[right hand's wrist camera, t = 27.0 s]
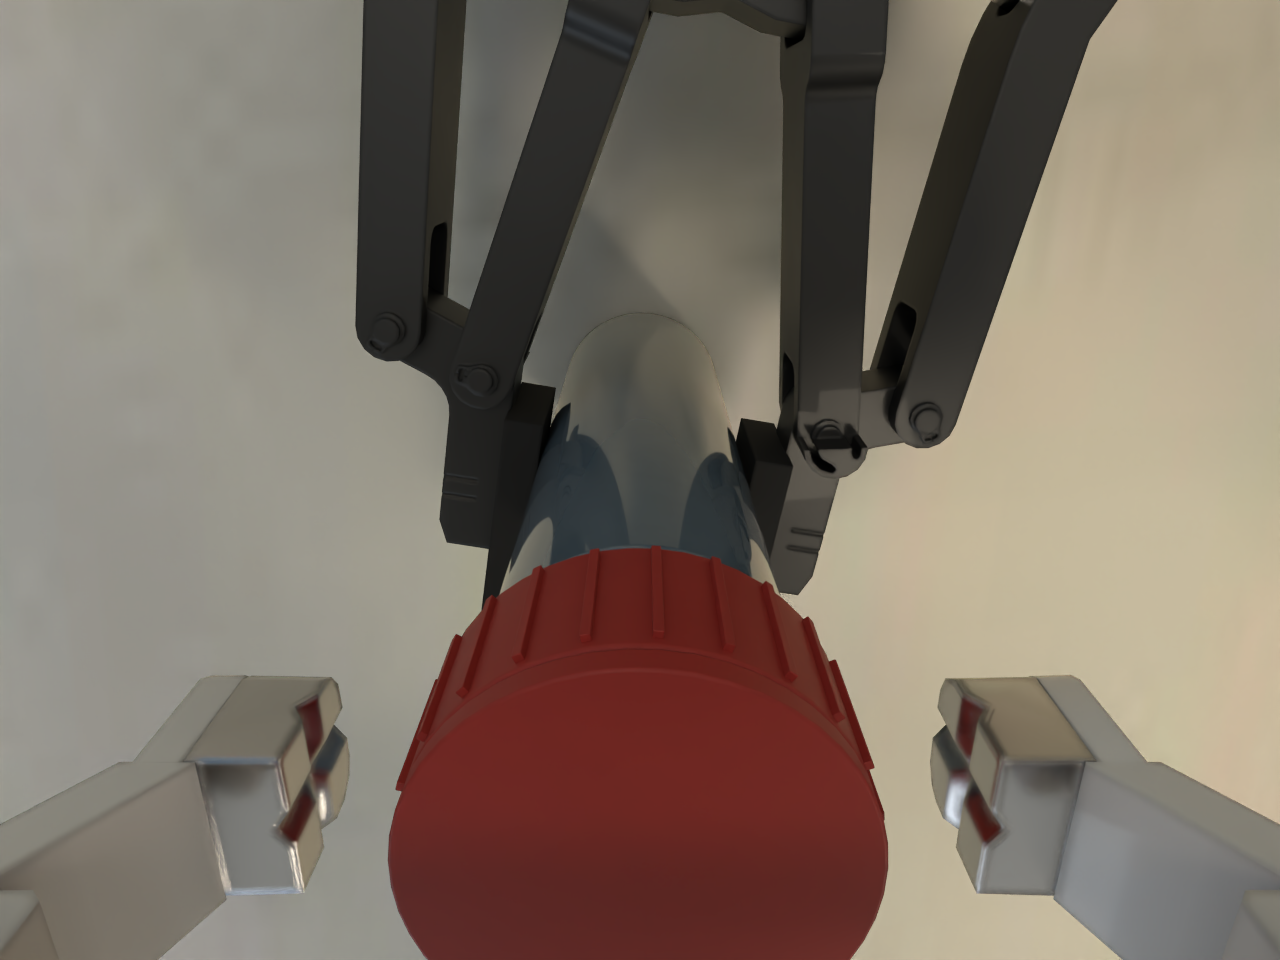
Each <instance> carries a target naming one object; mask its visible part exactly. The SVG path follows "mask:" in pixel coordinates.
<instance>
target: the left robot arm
mask: <svg viewBox="0 0 1280 960" xmlns="http://www.w3.org/2000/svg"><path fill="white" fill-rule="evenodd" d="M888 1H889V0H569V2H568V5H567V9H566V13H565V18H564V24H563V28H562V32H561V36H560V39H559V42H558V45H557V48H556V51H555V54H554V57H553V60H552V63H551V66H550V69H549V72H548V75H547V78H546V81H545V84H544V87H543V90H542V93H541V96H540V99H539V102H538V105H537V108H536V111H535V114H534V117H533V120H532V123H531V126H530V129H529V133H528V136H527V139H526V142H525V145H524V148H523V151H522V154H521V157H520V160H519V163H518V166H517V169H516V172H515V175H514V178H513V181H512V184H511V187H510V190H509V193H508V196H507V199H506V202H505V205H504V208H503V211H502V214H501V217H500V220H499V223H498V226H497V229H496V232H495V235H494V238H493V241H492V244H491V247H490V250H489V253H488V256H487V259H486V262H485V265H484V268H483V271H482V274H481V277H480V280H479V283H478V286H477V289H476V292H475V295H474V298H473V301H472V304H471V307H470V310H469V309H467V308H466V307H464V306H462V305H460V304H458V303H456V302H455V301H453V300H451V299H449V298H448V283H449V267H450V251H451V236H452V220H453V204H454V189H455V173H456V157H457V142H458V126H459V110H460V94H461V79H462V63H463V47H464V32H465V16H466V0H364V8H363V48H362V87H361V127H360V167H359V206H358V246H357V285H356V325H355V326H356V331H357V337H358V339H359V341H360V343H361V344H362V346H363V348H364V349H365V350H366V351H367V352H369V353H370V354H371V355H372V356H374V357H375V358H378V359H381V360H384V361H399V360H400V361H402V362H404V363H405V364H407V365H409V366H411V367H413V368H415V369H417V370H419V371H421V372H422V373H424V374H426V375H428V376H429V377H431V378H432V379H433V380H435V381H436V382H437V383H438V384H439V386H440V387H441V388H442V390H443V391H444V393H445V395H446V397H447V400H448V404H449V425H448V435H447V446H446V456H445V467H444V478H443V488H442V498H441V509H440V519H439V520H440V523H441V526H442V529H443V532H444V535H445V538H446V541H447V543H454V544H460V545H467V546H473V547H480V548H487V549H489V553H488V561H487V569H486V578H485V586H484V594H483V603H482V610H483V607H484V604H485V601H486V599H487V598H489V597H490V596H491V595H493V596H494V597H495V598H496V597H498V596H499V594H500V590H501V587H502V584H503V581H504V577H505V574H506V571H507V568H508V564H509V561H510V558H511V554H512V551H513V548H514V545H515V541H516V538H517V535H518V532H519V528H520V525H521V522H522V518H523V515H524V512H525V509H526V505H527V502H528V499H529V496H530V492H531V489H532V486H533V482H534V479H535V476H536V473H537V469H538V466H539V463H540V460H541V456H542V453H543V450H544V446H545V443H546V440H547V437H548V433H549V430H550V425H551V418H552V411H553V404H554V397H555V390H556V388H555V387H549V386H543V385H537V384H531V383H525V382H522V383H521V380H522V372H523V365H524V363H525V361H526V359H527V357H528V355H529V353H530V352H529V350H530V347H531V344H532V342H533V339H534V336H535V333H536V331H537V328H538V325H539V322H540V320H541V317H542V314H543V311H544V309H545V306H546V303H547V300H548V298H549V295H550V292H551V289H552V287H553V284H554V281H555V278H556V276H557V273H558V270H559V267H560V265H561V262H562V259H563V256H564V254H565V251H566V248H567V245H568V243H569V240H570V237H571V234H572V232H573V229H574V226H575V223H576V221H577V218H578V215H579V212H580V210H581V207H582V204H583V201H584V199H585V196H586V193H587V190H588V188H589V185H590V182H591V179H592V177H593V174H594V171H595V168H596V166H597V163H598V160H599V157H600V155H601V152H602V149H603V146H604V143H605V141H606V138H607V135H608V132H609V130H610V127H611V124H612V121H613V119H614V116H615V113H616V110H617V108H618V105H619V102H620V99H621V97H622V94H623V91H624V88H625V86H626V83H627V80H628V77H629V75H630V72H631V70H632V67H633V65H634V62H635V60H636V57H637V55H638V52H639V49H640V47H641V44H642V41H643V39H644V36H645V33H646V30H647V28H648V25H649V22H650V19H651V17H652V14H653V12H657V13H663V14H668V15H673V16H687V15H697V14H707V13H716V12H721V13H724V14H727V15H728V16H730V17H732V18H734V19H736V20H738V21H740V22H742V23H744V24H746V25H747V26H749V27H751V28H753V29H755V30H757V31H759V32H761V33H766V34H771V35H776V36H781V37H780V81H781V89H782V94H783V167H782V236H781V305H780V374H779V404H780V409H781V414H780V418H779V422H778V426H777V429H776V427H775V425H774V424H773V423H767V422H761V421H755V420H749V419H743V418H741V422H740V426H739V430H738V435H737V439H736V444H737V448H738V451H739V455H740V458H741V462H742V465H743V468H744V472H745V475H746V479H747V482H748V486H749V489H750V493H751V496H752V499H753V503H754V506H755V510H756V513H757V517H758V520H759V523H760V527H761V530H762V534H763V537H764V541H765V544H766V548H767V551H768V554H769V558H770V561H771V565H772V568H773V572H774V575H775V579H776V582H777V585H778V589H779V592H781V593H787V594H794V595H798V594H799V593H800V592H801V590H802V589H803V588H804V587H805V585H806V584H807V583H808V581H809V580H810V579H811V577H812V576H813V572H814V569H815V565H816V561H817V558H818V552H819V550H820V547H821V543H822V540H823V534H824V532H825V529H826V525H827V521H828V518H829V514H830V511H831V507H832V503H833V500H834V496H835V492H836V489H837V485H838V481H839V478H842V477H846V476H848V475H850V474H851V473H853V472H854V471H856V470H858V468H859V467H860V466H861V464H862V463H863V462H864V460H865V458H866V454H867V450H868V449H871V448H874V447H880V446H886V445H892V444H898V443H904V442H905V443H906V444H908V445H910V446H913V447H915V448H930V447H932V446H935V445H938V444H940V443H941V442H942V441H944V440H945V439H946V438H947V437H948V436H949V435H950V434H951V432H952V430H953V429H954V427H955V425H956V422H957V419H958V416H959V413H960V411H961V408H962V405H963V402H964V399H965V396H966V393H967V390H968V388H969V385H970V382H971V379H972V376H973V373H974V370H975V367H976V365H977V362H978V359H979V356H980V353H981V350H982V347H983V345H984V342H985V339H986V336H987V333H988V330H989V327H990V324H991V322H992V319H993V316H994V313H995V310H996V307H997V304H998V301H999V299H1000V296H1001V293H1002V290H1003V287H1004V284H1005V281H1006V278H1007V276H1008V273H1009V270H1010V267H1011V264H1012V261H1013V258H1014V255H1015V253H1016V250H1017V247H1018V244H1019V241H1020V238H1021V235H1022V232H1023V230H1024V227H1025V224H1026V221H1027V218H1028V215H1029V212H1030V209H1031V207H1032V204H1033V201H1034V198H1035V195H1036V192H1037V189H1038V186H1039V184H1040V181H1041V178H1042V175H1043V172H1044V169H1045V166H1046V163H1047V161H1048V158H1049V155H1050V152H1051V149H1052V146H1053V143H1054V140H1055V138H1056V135H1057V132H1058V129H1059V126H1060V123H1061V120H1062V117H1063V115H1064V112H1065V109H1066V106H1067V103H1068V100H1069V97H1070V94H1071V92H1072V89H1073V86H1074V83H1075V80H1076V77H1077V74H1078V71H1079V69H1080V66H1081V63H1082V60H1083V57H1084V54H1085V51H1086V48H1087V46H1088V43H1089V40H1090V38H1091V37H1092V35H1093V34H1094V33H1095V31H1096V30H1097V28H1098V27H1099V26H1100V24H1101V23H1102V21H1103V20H1104V19H1105V17H1106V16H1107V14H1108V13H1109V12H1110V10H1111V9H1112V7H1113V6H1114V5H1115V3H1116V2H1117V0H991V2H990V3H989V5H988V7H987V8H986V10H985V12H984V13H983V15H982V17H981V20H980V22H979V24H978V26H977V28H976V30H975V32H974V34H973V37H972V39H971V41H970V44H969V47H968V49H967V52H966V55H965V58H964V61H963V63H962V66H961V69H960V73H959V76H958V79H957V83H956V86H955V89H954V93H953V96H952V99H951V103H950V106H949V109H948V112H947V116H946V119H945V122H944V126H943V129H942V132H941V136H940V139H939V142H938V146H937V149H936V152H935V155H934V159H933V162H932V165H931V169H930V172H929V175H928V179H927V182H926V185H925V189H924V192H923V195H922V198H921V202H920V205H919V208H918V212H917V215H916V218H915V222H914V225H913V228H912V232H911V235H910V238H909V241H908V245H907V248H906V251H905V255H904V258H903V261H902V265H901V268H900V271H899V275H898V278H897V281H896V284H895V288H894V291H893V294H892V298H891V301H890V304H889V308H888V311H887V314H886V318H885V321H884V324H883V327H882V331H881V334H880V337H879V341H878V344H877V347H876V351H875V354H874V357H873V361H872V364H871V367H870V370H867V371H862V362H863V342H864V322H865V302H866V283H867V263H868V243H869V223H870V203H871V183H872V163H873V144H874V124H875V104H876V93H877V88H878V85H879V82H880V79H881V76H882V73H883V68H884V63H885V54H886V39H887V20H888Z"/></svg>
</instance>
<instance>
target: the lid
mask: <svg viewBox="0 0 1280 960" xmlns="http://www.w3.org/2000/svg"><path fill="white" fill-rule="evenodd" d="M873 768H874V764H873V761H872V759H871V756H870V753H869V750H868V747H867V745H866V742H865V739H864V736H863V734H862V731H861V728H860V725H859V722H858V720H857V717H856V714H855V711H854V709H853V706H852V703H851V700H850V697H849V695H848V692H847V689H846V686H845V683H844V681H843V678H842V675H841V672H840V670H839V667H838V664H837V662H836V660H832V661H828V658H827V655H826V653H825V652H824V650H823V648H822V646H821V644H820V642H819V639H818V636H817V633H816V630H815V627H814V624H813V622H812V620H811V619H810V618H809V617H806V618H804V619H803V618H802V617H801V616H800V615H799V614H798V613H797V612H796V611H795V610H794V609H793V608H792V607H791V606H790V605H789V604H788V603H787V602H786V601H785V600H784V599H783V598H781V597H780V596H779V595H777V594H776V593H775V591H774V588H773V585H772V584H770V583H769V582H767V581H765V582H764V583H763V584H762V583H761V582H759V581H757V580H755V579H753V578H752V577H750V576H748V575H746V574H744V573H742V572H741V571H739V570H737V569H734V568H732V567H729V566H727V565H724V564H722V563H721V559H720V558H717V557H713V556H712V557H711V559H708V558H704V557H700V556H696V555H692V554H689V553H685V552H678V551H670V550H663V549H661V546H654V545H652V546H651V549H648V548H625V549H615V550H606V551H600V550H599V548H597V549H591V550H590V553H589V554H585V555H581V556H576V557H572V558H570V559H567V560H564V561H561V562H558V563H555V564H553V565H550V566H547V567H545V568H542V566H541V565H540V566H538V567H536V568H533V571H532V574H531V575H529V576H527V577H525V578H523V579H522V580H520V581H519V582H517V583H516V584H514V585H513V586H511V587H510V588H508V589H507V590H505V591H504V592H502V593H501V594H500V595H499V596H498V597H496V598H495V597H494V596H493V595H491V596H490V597H489V598H487V599H486V601H485V604H484V607H483V610H482V611H481V612H480V614H479V615H478V616H477V617H476V618H475V620H474V621H473V622H472V623H471V624H470V626H469V627H468V628H467V629H466V631H465V632H464V634H463V636H462V637H461V636H459V635H457V634H456V635H455V636H454V638H453V640H452V642H451V645H450V647H449V650H448V653H447V655H446V658H445V661H444V663H443V666H442V669H441V672H440V674H439V677H438V679H436V680H435V682H434V685H433V687H432V690H431V693H430V695H429V698H428V701H427V704H426V706H425V709H424V712H423V714H422V717H421V720H420V722H419V725H418V728H417V730H416V733H415V736H414V738H413V741H412V744H411V746H410V749H409V752H408V754H407V757H406V760H405V762H404V765H403V768H402V770H401V773H400V776H399V778H398V781H397V785H396V790H398V791H402V792H401V795H400V798H399V800H398V803H397V806H396V809H395V812H394V817H393V821H392V825H391V830H390V834H389V849H388V865H389V874H390V882H391V888H392V891H393V895H394V898H395V901H396V905H397V908H398V911H399V914H400V916H401V918H402V920H403V922H404V924H405V926H406V928H407V930H408V932H409V934H410V936H411V937H412V939H413V940H414V942H415V943H416V945H417V946H418V948H419V949H420V951H421V952H422V953H423V955H424V956H425V957H426V958H427V959H428V960H850V959H851V958H852V956H853V955H854V954H855V952H856V951H857V949H858V948H859V947H860V945H861V944H862V943H863V941H864V940H865V938H866V936H867V934H868V932H869V930H870V928H871V926H872V924H873V923H874V921H875V919H876V916H877V913H878V910H879V907H880V904H881V901H882V898H883V895H884V890H885V884H886V878H887V872H888V841H887V835H886V830H885V825H884V811H883V808H882V805H881V802H880V799H879V796H878V793H877V791H876V788H875V785H874V782H873V779H872V776H871V773H870V771H869V770H870V769H873Z"/></svg>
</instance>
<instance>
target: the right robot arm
mask: <svg viewBox="0 0 1280 960" xmlns="http://www.w3.org/2000/svg"><path fill="white" fill-rule="evenodd" d="M341 709H342V702H341V697H340V692H339V687H338V684H337V683H336V682H335V680H334V679H333V678H332V677H291V676H250V677H249V676H246V675H231V676H208V677H205V678H202V679H200V680H199V681H198V682H197V683H196V685H195V686H194V687H193V688H192V689H191V691H190V692H189V693H188V694H187V696H186V697H185V698H184V699H183V701H182V702H181V703H180V704H179V705H178V707H177V708H176V709H175V710H174V712H173V713H172V714H171V715H170V717H169V718H168V719H167V720H166V722H165V723H164V724H163V725H162V726H161V728H160V729H159V730H158V731H157V733H156V734H155V735H154V736H153V738H152V739H151V740H150V741H149V743H148V744H147V745H146V746H145V747H144V749H143V750H142V751H141V752H140V754H139V755H138V756H137V757H136V759H135V760H134V761H133V762H119V763H117V764H115V765H113V766H111V767H109V768H107V769H105V770H103V771H101V772H99V773H98V774H96V775H94V776H92V777H90V778H88V779H86V780H84V781H82V782H80V783H78V784H76V785H75V786H73V787H71V788H69V789H67V790H65V791H63V792H61V793H59V794H57V795H55V796H54V797H52V798H50V799H48V800H46V801H44V802H42V803H40V804H38V805H36V806H34V807H32V808H31V809H29V810H27V811H25V812H23V813H21V814H19V815H17V816H15V817H13V818H11V819H9V820H8V821H6V822H4V823H2V824H0V960H158V959H159V958H160V957H161V956H162V955H164V954H165V953H166V952H167V951H168V950H169V949H170V948H172V947H173V946H174V945H175V944H176V943H177V942H178V941H180V940H181V939H182V938H183V937H184V936H185V935H187V934H188V933H189V932H190V931H191V930H192V929H193V928H195V927H196V926H197V925H198V924H199V923H200V922H201V921H203V920H204V919H205V918H206V917H207V916H208V915H209V914H211V913H212V912H213V911H214V910H215V909H216V908H217V907H219V906H220V905H221V904H222V903H223V902H224V901H225V900H226V895H260V894H294V893H304V891H305V889H306V886H307V884H308V882H309V880H310V877H311V875H312V873H313V871H314V869H315V866H316V864H317V862H318V860H319V857H320V855H321V853H322V851H323V848H324V844H323V838H322V831H321V829H323V828H324V827H325V826H327V825H328V824H329V823H331V822H332V821H334V820H335V819H336V818H337V817H338V814H339V812H340V809H341V807H342V804H343V802H344V800H345V795H346V790H347V785H348V779H349V748H348V741H347V737H346V736H345V735H344V734H343V733H342V732H341V731H340V730H339V729H338V728H337V727H336V726H335V725H334V723H335V721H336V719H337V717H338V715H339V713H340V711H341ZM938 709H939V711H940V713H941V715H942V717H943V719H944V721H945V723H946V725H945V726H944V727H943V728H942V729H941V730H940V731H939V732H938V733H937V734H936V735H935V736H934V737H933V741H932V750H931V759H930V766H931V780H932V787H933V791H934V795H935V799H936V802H937V805H938V807H939V809H940V812H941V814H942V817H943V818H944V819H945V820H946V821H948V822H949V823H951V824H952V825H953V826H955V827H956V828H957V829H959V831H958V838H957V844H956V848H957V851H958V853H959V855H960V857H961V860H962V862H963V864H964V866H965V868H966V871H967V873H968V875H969V877H970V880H971V882H972V884H973V886H974V888H975V891H976V893H983V894H1019V895H1054V898H1053V899H1054V900H1055V901H1056V902H1057V903H1058V904H1060V905H1061V906H1062V907H1063V908H1064V909H1065V910H1066V911H1068V912H1069V913H1070V914H1071V915H1072V916H1073V917H1074V918H1076V919H1077V920H1078V921H1079V922H1080V923H1081V924H1082V925H1084V926H1085V927H1086V928H1087V929H1088V930H1089V931H1090V932H1092V933H1093V934H1094V935H1095V936H1096V937H1097V938H1098V939H1100V940H1101V941H1102V942H1103V943H1104V944H1105V945H1106V946H1108V947H1109V948H1110V949H1111V950H1112V951H1113V952H1114V953H1116V954H1117V955H1118V956H1119V957H1120V958H1121V959H1122V960H1280V824H1278V823H1276V822H1274V821H1272V820H1270V819H1268V818H1266V817H1264V816H1263V815H1261V814H1259V813H1257V812H1255V811H1253V810H1251V809H1249V808H1247V807H1245V806H1243V805H1242V804H1240V803H1238V802H1236V801H1234V800H1232V799H1230V798H1228V797H1226V796H1224V795H1222V794H1221V793H1219V792H1217V791H1215V790H1213V789H1211V788H1209V787H1207V786H1205V785H1203V784H1201V783H1200V782H1198V781H1196V780H1194V779H1192V778H1190V777H1188V776H1186V775H1184V774H1182V773H1180V772H1179V771H1177V770H1175V769H1173V768H1171V767H1169V766H1167V765H1165V764H1163V763H1161V762H1147V761H1146V760H1145V759H1144V757H1143V756H1142V755H1141V754H1140V752H1139V751H1138V750H1137V749H1136V748H1135V746H1134V745H1133V744H1132V743H1131V741H1130V740H1129V739H1128V738H1127V736H1126V735H1125V734H1124V733H1123V732H1122V730H1121V729H1120V728H1119V727H1118V725H1117V724H1116V723H1115V722H1114V720H1113V719H1112V718H1111V717H1110V716H1109V714H1108V713H1107V712H1106V711H1105V709H1104V708H1103V707H1102V706H1101V704H1100V703H1099V702H1098V701H1097V700H1096V698H1095V697H1094V696H1093V695H1092V693H1091V692H1090V691H1089V690H1088V688H1087V687H1086V686H1085V685H1084V684H1083V682H1082V681H1081V680H1080V679H1078V678H1076V677H1074V676H1072V675H1053V676H1029V677H1007V678H945V681H944V683H943V685H942V687H941V690H940V696H939V702H938Z"/></svg>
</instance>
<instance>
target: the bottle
mask: <svg viewBox="0 0 1280 960" xmlns="http://www.w3.org/2000/svg"><path fill="white" fill-rule="evenodd" d="M652 545H654V546H661V549H663V550H670V551H678V552H685V553H689V554H692V555H696V556H700V557H704V558H708V559H711V557H712V556H713V557H717V558H720V559H721V563H722V564H724V565H727V566H729V567H732V568H734V569H737V570H739V571H741V572H742V573H744V574H746V575H748V576H750V577H752V578H753V579H755V580H757V581H759V582H761V583H762V584H763V583H764V582H765V581H767V582H769V583H770V584H772V585H773V588H774V591H775V593H776V594H777V595H779V596H780V592H779V589H778V585H777V582H776V579H775V575H774V572H773V568H772V565H771V561H770V558H769V554H768V551H767V548H766V544H765V541H764V537H763V534H762V530H761V527H760V523H759V520H758V517H757V513H756V510H755V506H754V503H753V499H752V496H751V493H750V489H749V486H748V482H747V479H746V475H745V472H744V468H743V465H742V462H741V458H740V455H739V451H738V448H737V444H736V441H735V437H734V434H733V431H732V427H731V424H730V420H729V417H728V413H727V410H726V407H725V403H724V400H723V396H722V393H721V389H720V386H719V382H718V379H717V376H716V372H715V369H714V366H713V362H712V359H711V357H710V355H709V353H708V351H707V349H706V348H705V346H704V345H703V343H702V342H701V341H700V340H699V338H698V337H697V336H696V335H695V334H694V333H693V332H692V331H690V330H689V329H688V328H687V327H685V326H684V325H682V324H681V323H679V322H677V321H675V320H673V319H671V318H668V317H665V316H662V315H657V314H652V313H631V314H626V315H621V316H618V317H615V318H612V319H610V320H608V321H606V322H604V323H602V324H601V325H599V326H598V327H596V328H595V329H593V330H592V331H591V332H590V333H589V334H588V335H587V336H586V337H585V338H584V339H583V340H582V342H581V343H580V344H579V346H578V347H577V349H576V350H575V353H574V355H573V357H572V359H571V362H570V365H569V368H568V371H567V374H566V378H565V381H564V384H563V388H562V391H561V394H560V397H559V401H558V404H557V407H556V410H555V414H554V417H553V420H552V424H551V427H550V430H549V433H548V437H547V440H546V443H545V446H544V450H543V453H542V456H541V460H540V463H539V466H538V469H537V473H536V476H535V479H534V482H533V486H532V489H531V492H530V496H529V499H528V502H527V505H526V509H525V512H524V515H523V518H522V522H521V525H520V528H519V532H518V535H517V538H516V541H515V545H514V548H513V551H512V554H511V558H510V561H509V564H508V568H507V571H506V574H505V577H504V581H503V584H502V587H501V590H500V594H501V593H502V592H504V591H505V590H507V589H508V588H510V587H511V586H513V585H514V584H516V583H517V582H519V581H520V580H522V579H523V578H525V577H527V576H529V575H531V574H532V571H533V568H536V567H538V566H540V565H541V566H542V568H545V567H547V566H550V565H553V564H555V563H558V562H561V561H564V560H567V559H570V558H572V557H576V556H581V555H585V554H589V553H590V550H591V549H597V548H599V550H600V551H606V550H615V549H625V548H648V549H651V546H652ZM500 594H499V595H500ZM780 597H781V596H780Z"/></svg>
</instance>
